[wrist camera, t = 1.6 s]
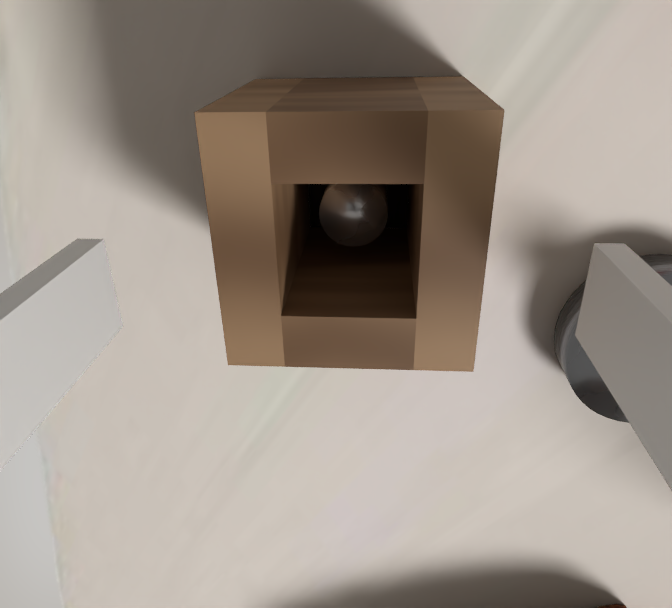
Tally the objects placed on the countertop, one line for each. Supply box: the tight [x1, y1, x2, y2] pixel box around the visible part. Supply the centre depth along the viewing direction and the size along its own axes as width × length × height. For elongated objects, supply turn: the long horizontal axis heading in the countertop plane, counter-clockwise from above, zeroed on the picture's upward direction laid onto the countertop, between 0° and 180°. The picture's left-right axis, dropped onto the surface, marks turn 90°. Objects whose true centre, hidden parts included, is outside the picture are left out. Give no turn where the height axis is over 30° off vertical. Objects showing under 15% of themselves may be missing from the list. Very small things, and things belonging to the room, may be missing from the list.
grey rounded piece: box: [319, 184, 388, 247], centre depth 21 cm, size 2×2×4 cm
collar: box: [194, 76, 504, 372], centre depth 20 cm, size 8×8×8 cm
